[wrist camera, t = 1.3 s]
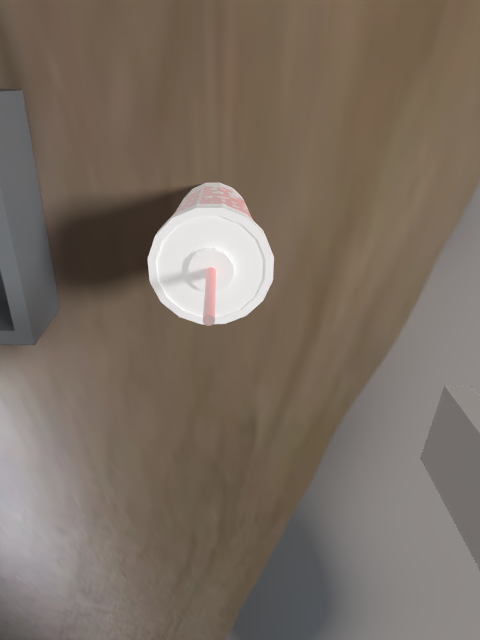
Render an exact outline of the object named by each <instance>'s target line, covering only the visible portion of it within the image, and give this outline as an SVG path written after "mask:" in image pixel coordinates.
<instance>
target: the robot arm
mask: <svg viewBox="0 0 480 640" xmlns="http://www.w3.org/2000/svg"><path fill="white" fill-rule="evenodd" d="M421 460H422V462H423V464H424V466H425V468H426V469H427V471H428V473H429V475H430V476H431V479H432V481H433V483H434V484H435V486H436V488H437V490H438V492H439V494H440V496H441V498H442V500H443V502H444V504H445V505H446V507H447V509H448V511H449V513H450V515H451V517H452V519H453V521H454V522H455V524H456V526H457V528H458V530H459V532H460V534H461V536H462V537H463V539H464V541H465V543H466V545H467V547H468V549H469V550H470V553H471V554H472V556H473V558H474V560H475V562H476V564H477V566H478V568H479V570H480V396H479V395H478V393H477V392H476V391H475V390H474V389H473V387H472V386H444V389H443V392H442V395H441V398H440V401H439V404H438V407H437V410H436V413H435V416H434V419H433V422H432V425H431V428H430V431H429V434H428V437H427V440H426V443H425V446H424V449H423V452H422V455H421Z"/></svg>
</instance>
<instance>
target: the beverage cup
mask: <svg viewBox="0 0 480 640" xmlns="http://www.w3.org/2000/svg"><path fill="white" fill-rule="evenodd" d="M147 260H148V269H149V278H150V283H151V285H152V287H153V289H154V290H155V292H156V294H157V296H158V297H159V299H160V301H161V302H162V303H163V304H164V305H165V306H167V307H168V308H169V309H170V310H171V311H173V312H174V313H175V314H176V315H178V316H179V317H181V318H184V319H187V320H190V321H193V322H196V323H199V324H205V325H207V326H211V325H213V324H226V323H228V322H231V321H233V320H236V319H239V318H241V317H244V316H246V315H247V314H249V313H250V312H251V311H252V310H253V309H254V308H255V307H256V306H258V305H259V304H260V303H261V302H262V301H263V300H264V298H265V296H266V293H267V291H268V289H269V287H270V285H271V283H272V281H273V265H274V256H273V254H272V251H271V249H270V246H269V244H268V241H267V239H266V236H265V233H264V232H263V230H262V229H261V228H260V227H259V226H258V225H257V224H256V223H255V222H254V221H253V219H252V217H251V215H250V213H249V211H248V208H247V206H246V204H245V202H244V200H243V198H242V197H241V196H240V195H239V194H238V193H237V192H236V191H235V190H234V189H233V188H231V187H229V186H226V185H224V184H222V183H204V184H202V185H200V186H198V187H195V188H193V189H192V190H191V191H190V192H189V193H188V194H187V195H186V197H185V198H184V199H183V200H182V202H181V204H180V205H179V207H178V209H177V210H176V212H175V214H173V216H172V217H171V218H170V219H169V220H168V221H167V222H166V223H165V224H164V225H163V226H162V227H161V228H160V230H159V231H158V232H157V234H156V235H155V238H154V241H153V244H152V247H151V250H150V253H149V256H148V259H147Z"/></svg>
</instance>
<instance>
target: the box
mask: <svg viewBox="0 0 480 640" xmlns="http://www.w3.org/2000/svg"><path fill="white" fill-rule="evenodd" d="M59 309H60V305H59V299H58V293H57V287H56V281H55V276H54V270H53V264H52V258H51V253H50V247H49V241H48V235H47V229H46V224H45V218H44V212H43V206H42V200H41V195H40V189H39V183H38V177H37V171H36V166H35V160H34V154H33V148H32V142H31V137H30V131H29V125H28V119H27V113H26V108H25V102H24V96H23V90H9V89H0V345H35V344H36V342H37V341H38V339H39V338H40V337H41V335H42V334H43V332H44V331H45V329H46V328H47V326H48V325H49V324H50V322H51V321H52V319H53V318H54V316H55V315H56V313H57V312H58V311H59Z"/></svg>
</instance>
